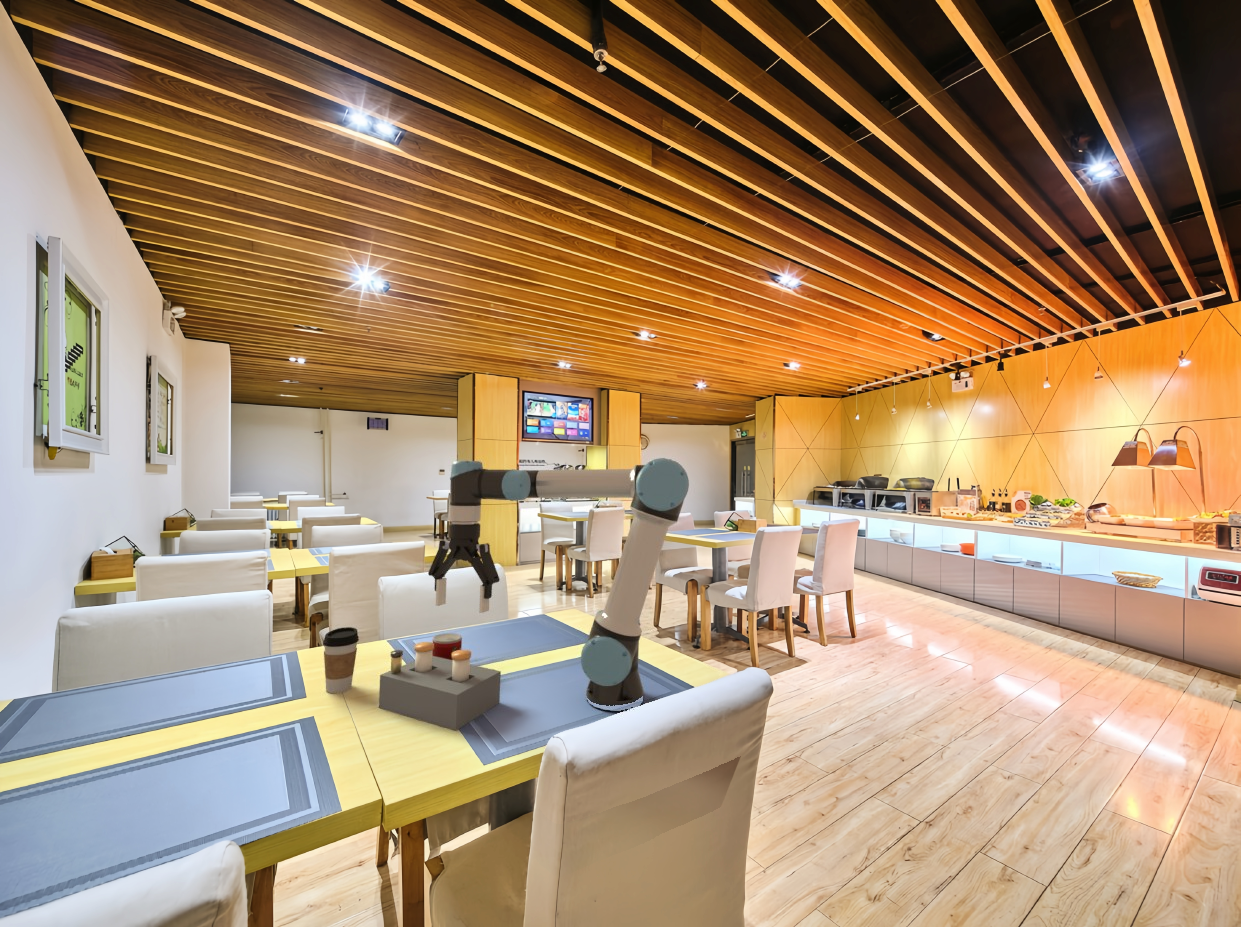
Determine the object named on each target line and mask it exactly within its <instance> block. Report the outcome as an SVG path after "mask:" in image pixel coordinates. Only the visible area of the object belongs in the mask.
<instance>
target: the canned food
mask: <svg viewBox="0 0 1241 927" xmlns="http://www.w3.org/2000/svg"><path fill="white" fill-rule="evenodd" d="M462 639H463V637H462V635H461V634H458V633H453V632H449V633H448V632H446V633H439V634H435V636H433V638H432V643H434V649H433V650H432V656H436V657H440V658H444V659H449V660H453V659H452V652H454V651H457V650H462V644H463V642H462V641H463V640H462Z"/></svg>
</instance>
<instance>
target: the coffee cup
mask: <svg viewBox="0 0 1241 927" xmlns="http://www.w3.org/2000/svg"><path fill="white" fill-rule="evenodd" d="M359 640H360V639H359V634H358V629H357V628H356V627H352V626H350V627H349V626H345V627H338V628H335V629H332V630H330V631H328V632H327V633H326V634H325V635H324V639H323V641H322V645H323V647H324V651H323V661H324V663H323V664H324V675H325V691H326V693H329V694H341V693H344V692H348V691H349V690H351V689H352V687H353V686H352V684H353V677H354V672H355V666H356V664H355V663H356V659H357V658H356V657H357V651H358V648H357V645H358V642H359Z"/></svg>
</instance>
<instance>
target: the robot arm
mask: <svg viewBox="0 0 1241 927" xmlns="http://www.w3.org/2000/svg"><path fill="white" fill-rule="evenodd" d="M450 471H451V472H450V477H449V480H450V490H449V491H450V492H449V493H450V494H449V495H450V496H449V498H450V499H449V500H450V501H449V512H448V513H449V516H448V517H449V518H448V520H449V522H450V523H449V525H448V538H449V539H442V540H440V541H439V542H438V543H439V544H438V550H437V551H436V554H435V556H434V558H433V561H432V563H431V565H430V568H429V570H428V573H427V574H428V576H430V577H433V579H434V591H435V606H436V607H439V606H443V605H446V604H447V603H446V600H447V599H446V598H447V579H448V578H446V574H447V573H448V572H449V571H450V569H451V568H452V566H453V565H454V564H455V563H456V561H460V560H461V561H463V562H468V563H469V564H471V566H472V567H473V570H474V571H475V573H476V575H477V576H478V579H479V580H480V582H481V583H482V584H481V585H480V586H479V610H478V611H479V612H478V613H480V614H483V613H486V612H489V611H490V599H491V598H492V596H493V595H492V594H493V593H492V592H493V584H496V583H498V582H500V580H501V579H500V576H499V574H498V571H497V568H496V565H495V563H494V560H493V557H492V555H491V548H490V546H491V545H490V543H488V542H486V543H481V544H480V543H479V539H480V538H481V524H480V523H479V522H480V521H481V517H482V516H481V512H482V511H481V510H482V500H497V501H511V502H513V501H515V502H516V501H525V500H526V499H543V498H544V499H547V498H548V499H549V498H550V499H553V498H554V499H555V498H556V499H557V498H558V499H559V498H563V499H565V498H566V499H567V498H568V499H570V498H571V499H576V498H577V499H583V498H584V499H589V498H590V499H592V498H593V499H594V498H595V499H596V498H597V499H598V498H599V499H601V498H603V499H605V498H607V499H608V498H609V499H611V498H612V499H615V498H616V499H618V498H620V499H621V498H622V499H624V498H628V499H630V498H631V499H632V500H631V504H630V506H629V508H630V509H631V510H630V511H631V512H632V514H633V518H632V521H631V524H630V527H629V530H628V534H627V537H626V540H625V543H624V547H623V549H622V552H621V555H620V559H619V562H618V564H617V568H616V571H615V574H614V577H613V580H612V582H611V583H612V584H611V586H610V590H609V593H608V596H607V599H606V603H605V606H604V608H603V609H602V610H598V611H597V612H596V614H595V616H594V619H593V623H592V626H591V628H590V632H589V634H588V638H587V641H586V642H585V644H584V646H583V647H582V649H581V651H580V652H581V653H580V666H581V669H582V670H583V673H584V674H585V676H586V677H587V678H588V679H589V681H588V684H587V688H586V696H587V698H588V699H589V700H590V701H591V702H593V703H596V704H599V705H606V706H609V705H610V706H613V705H614V706H615V705H623V704H628V703H632V702H635V701H636V700H638V699H639V698H641V697H642V696H643V695H645V691H644V687H643V684H642V681H641V676H640V673H639V651H640V648H639V645H640V639H641V635H642V629H641V623H640V620H641V619H640V617H641V614H642V611H643V609H644V605H645V602H646V598H647V596H648V593H649V589H650V586H651V583H652V580H653V578H654V574H655V571H656V568H657V565H658V562H659V558H660V555H661V553H662V549H663V546H664V542H665V539H666V536H667V533H668V531H669V528H670V527H671V526H673V525H675V524H677V523H678V520H679V517H680V514H681V511H682V507H683V505H684V503H685V502H684V501H685V499H686V497H687V495H688V492H689V488H690V482H689V481H690V480H689V476H688V473H687V472H686V470H685V468H684V467H683V466H682V465H681V464H680V463H679V462H677V461H676V460H673V459H671V458H670V459H669V458H665V457H660V458H656V459H655V458H654V459H653V460H651V461H648V462H646V464H635V465H634V466H633V467H631V468H607V469H602V468H601V469H594V468H593V469H540V470H537V469H535V470H533V469H527V470H526V469H522V470H520V469H488V468H484V467H483V462H481V461H480V460H479V461H478V460H454V461H453V462H452V464H451V469H450ZM449 550H450V552H449ZM631 708H633V707H631ZM625 710H628V709H625ZM621 711H623V712H625V711H624V710H621ZM621 711H618V713H621Z"/></svg>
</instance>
